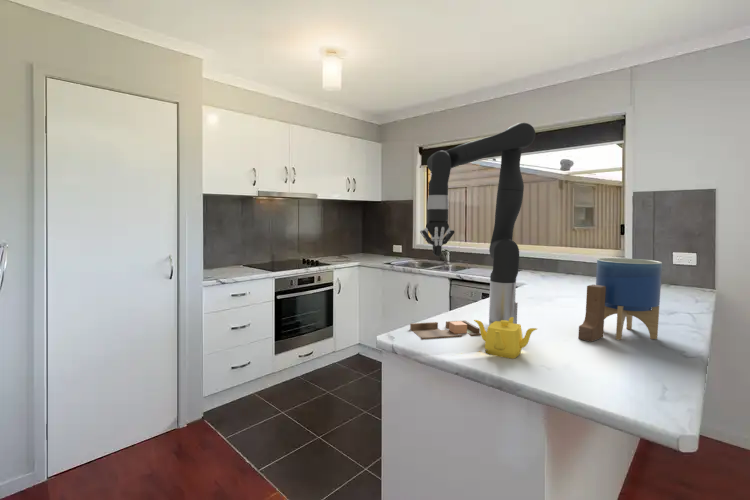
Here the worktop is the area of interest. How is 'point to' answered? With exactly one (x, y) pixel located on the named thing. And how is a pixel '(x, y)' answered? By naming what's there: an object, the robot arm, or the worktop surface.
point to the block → (458, 327)
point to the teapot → (504, 338)
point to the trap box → (433, 332)
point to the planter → (631, 291)
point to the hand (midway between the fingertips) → (436, 256)
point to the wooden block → (593, 314)
